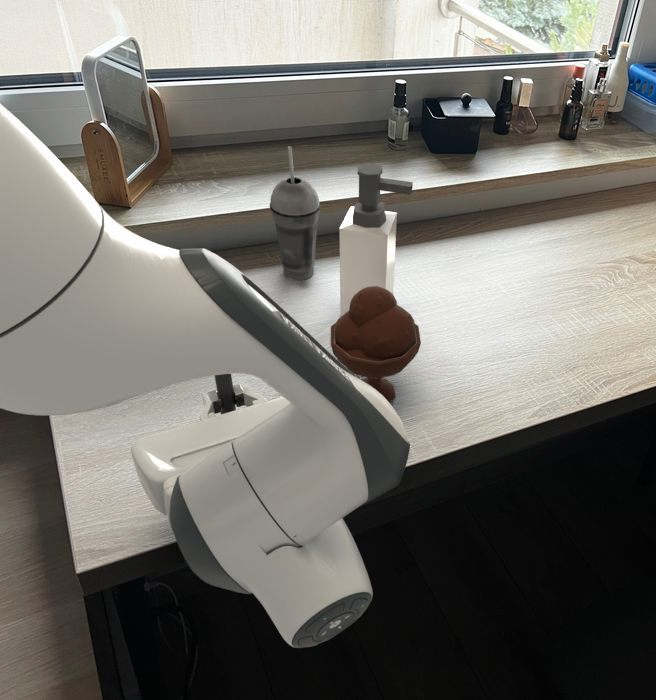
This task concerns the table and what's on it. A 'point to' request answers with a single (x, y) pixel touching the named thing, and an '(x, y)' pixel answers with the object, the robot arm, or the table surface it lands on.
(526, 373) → the table surface
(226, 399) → the peg stand
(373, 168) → the soap dispenser
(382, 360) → the ice cream bowl
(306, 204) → the beverage cup
